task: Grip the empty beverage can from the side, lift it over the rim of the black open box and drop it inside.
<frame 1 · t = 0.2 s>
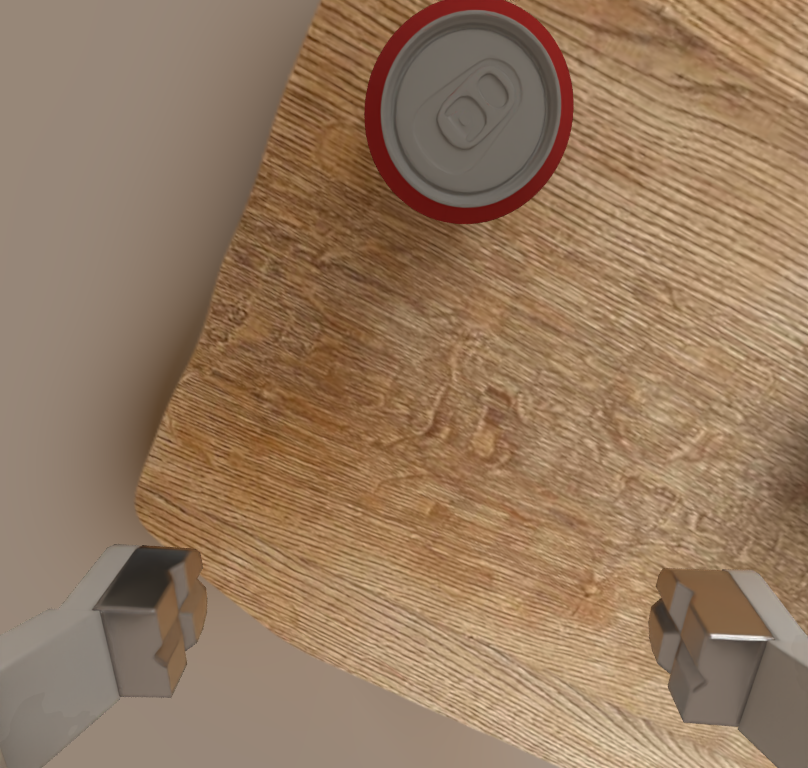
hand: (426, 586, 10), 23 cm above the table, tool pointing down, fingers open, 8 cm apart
beverage can: (458, 128, 29), on the table
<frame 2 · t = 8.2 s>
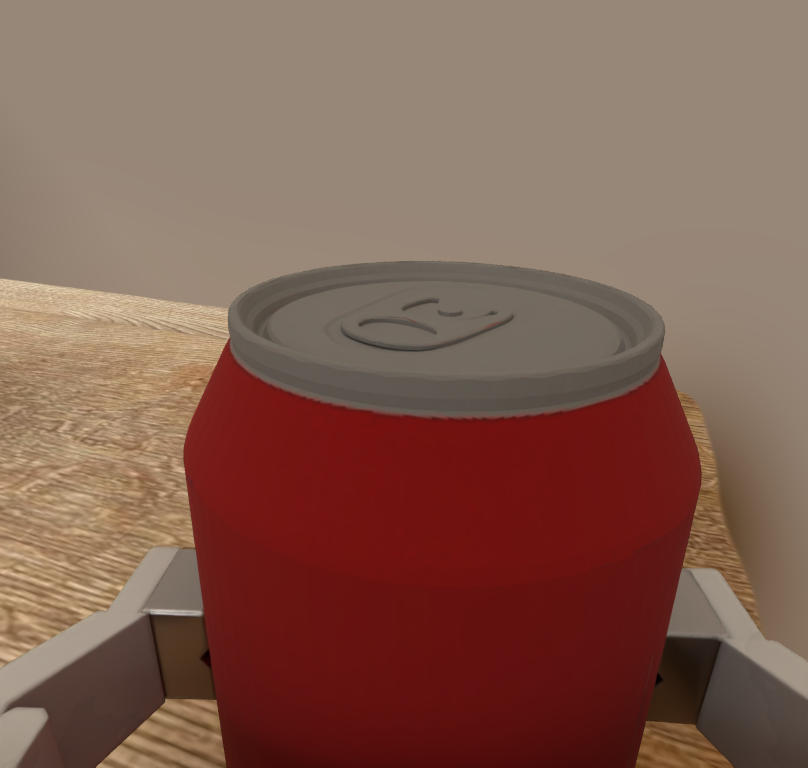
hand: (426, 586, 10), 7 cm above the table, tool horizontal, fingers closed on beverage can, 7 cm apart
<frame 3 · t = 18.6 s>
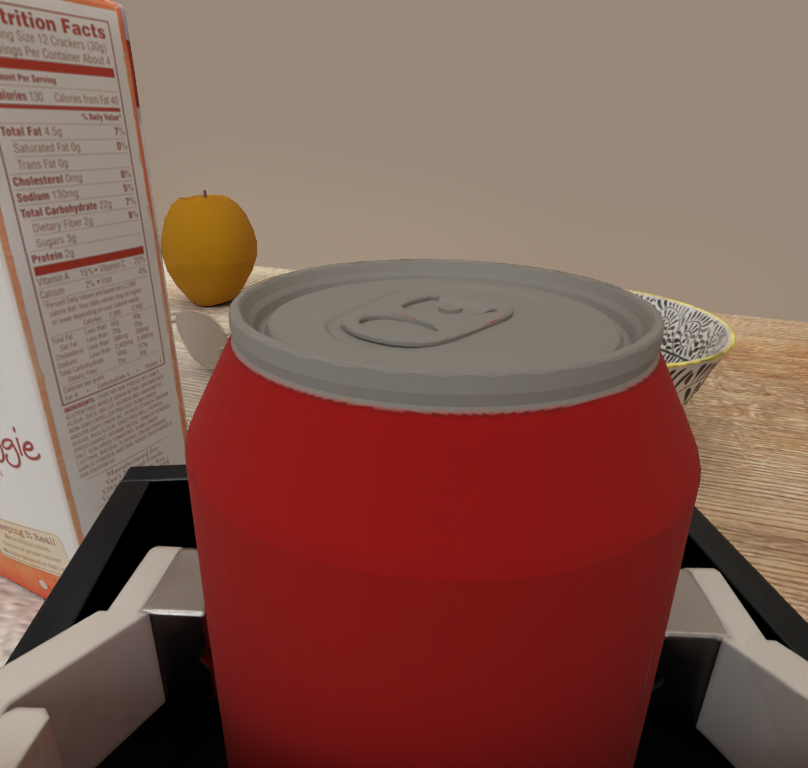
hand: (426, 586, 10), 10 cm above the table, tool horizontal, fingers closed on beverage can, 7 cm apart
cracker box: (46, 541, 27), on the table
apple: (216, 304, 64), on the table
bowl: (569, 429, 38), on the table
sunglasses: (205, 402, 41), on the table
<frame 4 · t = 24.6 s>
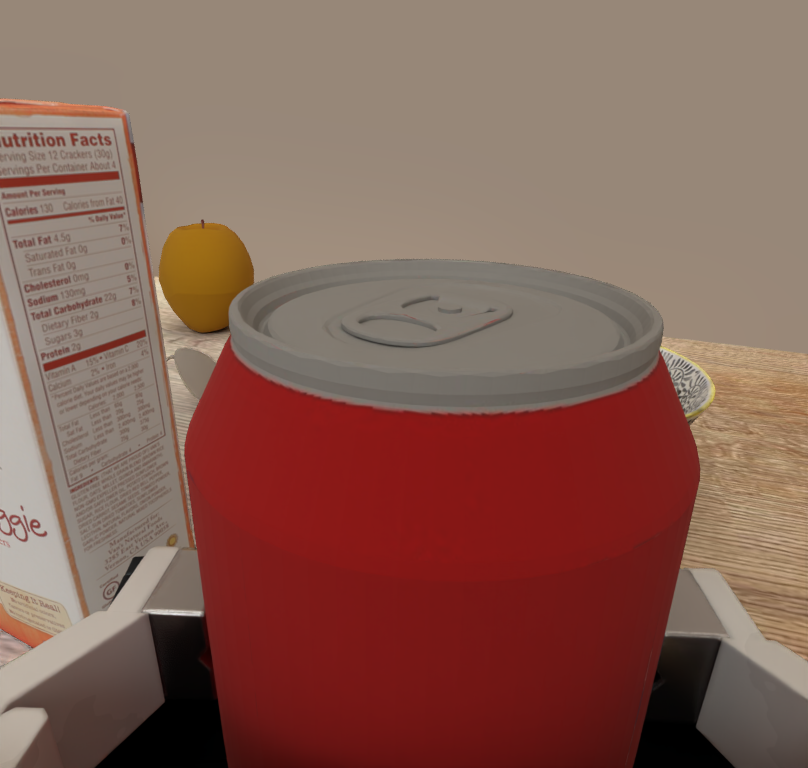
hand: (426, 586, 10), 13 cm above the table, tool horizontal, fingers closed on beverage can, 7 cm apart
cracker box: (49, 594, 28), on the table
apple: (213, 330, 65), on the table
bowl: (556, 471, 39), on the table
sunglasses: (202, 440, 42), on the table
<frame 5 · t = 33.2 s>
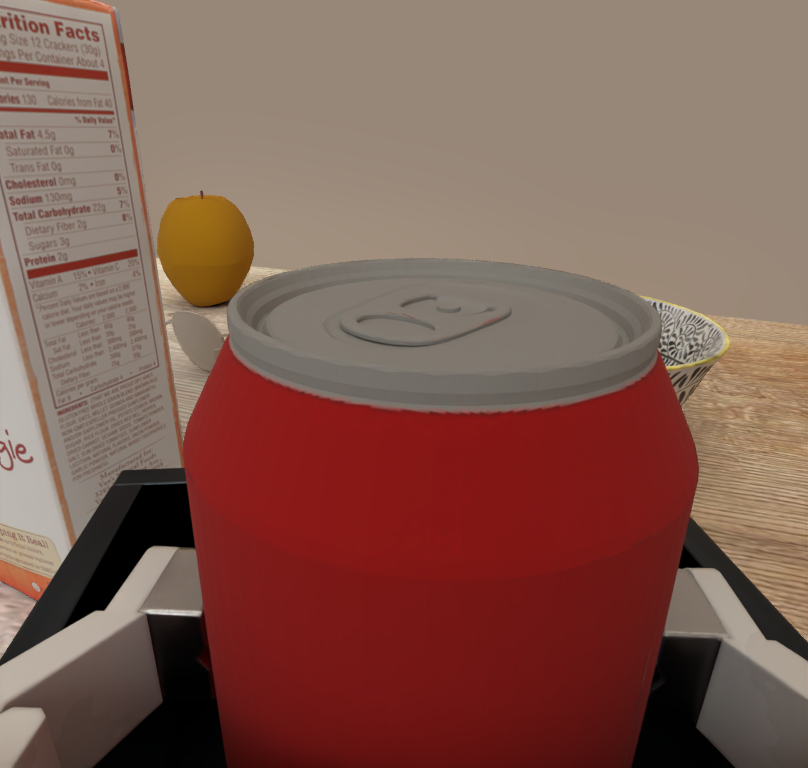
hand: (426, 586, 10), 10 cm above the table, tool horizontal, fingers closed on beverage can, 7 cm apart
cracker box: (40, 543, 27), on the table
apple: (212, 305, 64), on the table
bowl: (564, 431, 38), on the table
sunglasses: (200, 403, 41), on the table
when the fingers open (13 cm above the table, at t = 41.4 s): beverage can drops 5 cm, resting on black open box.
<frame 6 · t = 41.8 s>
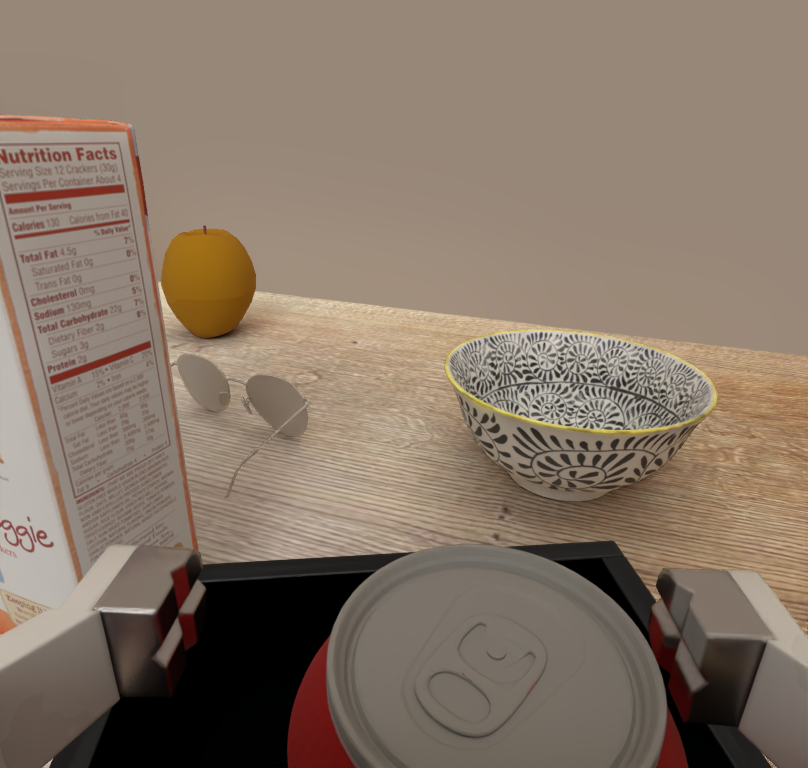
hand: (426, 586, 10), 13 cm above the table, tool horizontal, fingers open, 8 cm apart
cracker box: (55, 602, 28), on the table
apple: (215, 335, 65), on the table
bowl: (559, 476, 39), on the table
sunglasses: (206, 446, 42), on the table
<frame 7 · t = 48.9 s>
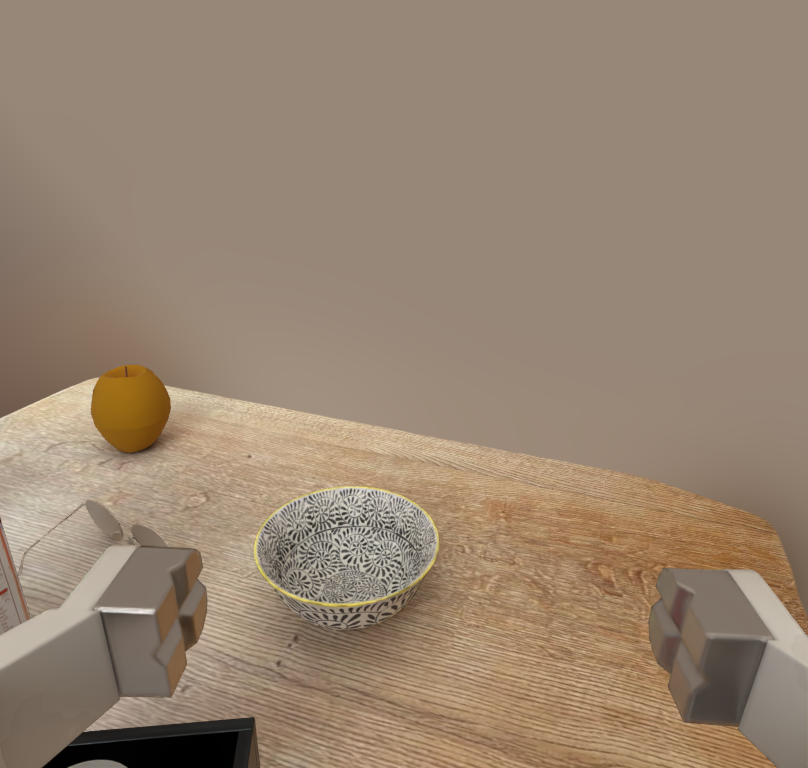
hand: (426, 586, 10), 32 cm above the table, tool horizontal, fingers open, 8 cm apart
apple: (138, 448, 80), on the table
bowl: (349, 604, 54), on the table
sunglasses: (100, 576, 57), on the table
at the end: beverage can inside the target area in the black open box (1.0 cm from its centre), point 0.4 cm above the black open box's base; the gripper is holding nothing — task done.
